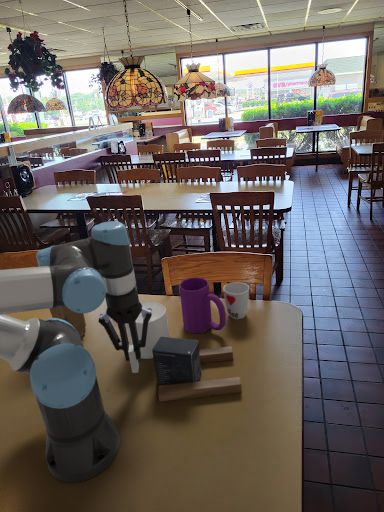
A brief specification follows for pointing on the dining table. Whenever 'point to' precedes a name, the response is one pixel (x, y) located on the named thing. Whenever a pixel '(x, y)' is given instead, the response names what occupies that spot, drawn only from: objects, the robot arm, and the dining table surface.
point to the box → (176, 361)
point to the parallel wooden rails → (204, 386)
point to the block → (70, 318)
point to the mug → (199, 306)
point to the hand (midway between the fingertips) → (135, 369)
